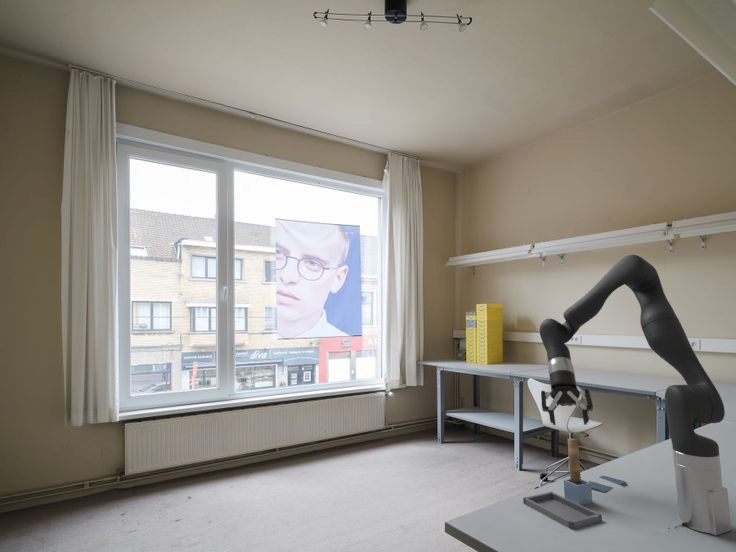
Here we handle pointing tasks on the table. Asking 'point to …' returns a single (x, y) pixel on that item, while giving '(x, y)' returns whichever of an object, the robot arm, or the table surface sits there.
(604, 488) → the smartphone
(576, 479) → the dowel
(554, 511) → the tray
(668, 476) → the table surface
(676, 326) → the robot arm
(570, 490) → the cup
